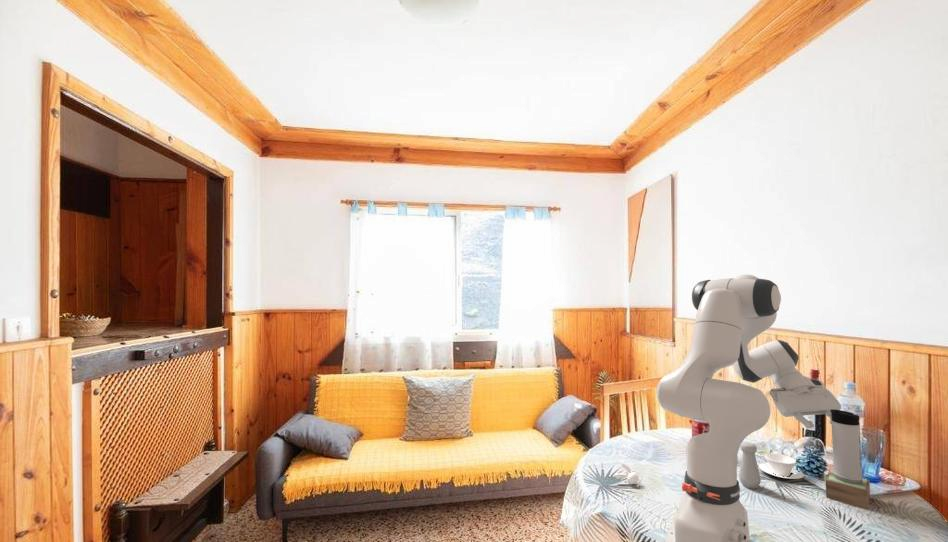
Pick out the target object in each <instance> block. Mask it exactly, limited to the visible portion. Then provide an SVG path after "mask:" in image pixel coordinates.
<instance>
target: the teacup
mask: <svg viewBox="0 0 948 542" xmlns="http://www.w3.org/2000/svg"><path fill="white" fill-rule="evenodd" d="M760 459H761V461H762V463H759V464H758V469H760V471H762V472H764V473H766V474H768V475H771V476H774V477H777V478H783V479H789V480H799V479H802V478H804V477H805V475H804V473H803V472H802V471H801V470H799V471H800V472H799V473H797V474H794V473H793V474H792V475H791V476H790V477H787V476H789V475H790V473H791V471H792V469H793V468H795V467H794V466H795V465H796V462H797V461H796V460H795V459H794V458H793V457H792V456H791V457H790V456H788V455H784V454H779V453H766V454H760ZM764 459H766V461H767V462H765V460H764ZM773 473H774V474H773ZM775 474H776V475H775ZM783 476H784V477H783Z"/></svg>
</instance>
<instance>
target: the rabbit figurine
mask: <svg viewBox="0 0 948 542" xmlns="http://www.w3.org/2000/svg"><path fill="white" fill-rule="evenodd" d="M620 463H621V466H622V468H623V469H624V471H626V472H627V473H615V474H613V477H614V478H616V479H625V478H626V480H625V481H624V484H626V483H628V484H629V485H634V484H635V486H636V487H637V488H639V486H641V482H642V478H641V477H639V475H638V474H637V473H636V472H634V471H632V470H631V468H630V466H628V464H627V463H626V462H624V461H623V460H620Z"/></svg>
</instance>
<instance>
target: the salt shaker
mask: <svg viewBox="0 0 948 542" xmlns="http://www.w3.org/2000/svg"><path fill="white" fill-rule="evenodd" d="M739 449H740V451H742V452H741V453H742V454H741V461H740V465H739V466H740V467H739V473H738V479H739V480H740V482H741V484H742V486H743V487H745V488H747V489H754V490H757V488H758V487H760V484H761V482H762V479H761V475H760V470H759V469H760V468H759V464H758V462H757V461H758V460H757V457H756V453H757V450H758V448H757V446H756V445H755V444H754V443H752V442H749V441H748V442H747V441H743V442H742V443H741V445H740V447H739Z"/></svg>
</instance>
